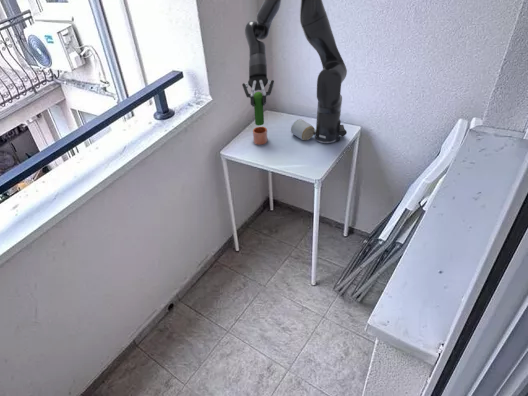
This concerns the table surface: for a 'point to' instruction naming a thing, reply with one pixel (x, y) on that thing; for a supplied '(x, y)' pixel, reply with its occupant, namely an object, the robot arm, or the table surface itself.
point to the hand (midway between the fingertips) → (258, 105)
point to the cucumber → (258, 108)
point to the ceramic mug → (302, 129)
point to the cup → (260, 135)
